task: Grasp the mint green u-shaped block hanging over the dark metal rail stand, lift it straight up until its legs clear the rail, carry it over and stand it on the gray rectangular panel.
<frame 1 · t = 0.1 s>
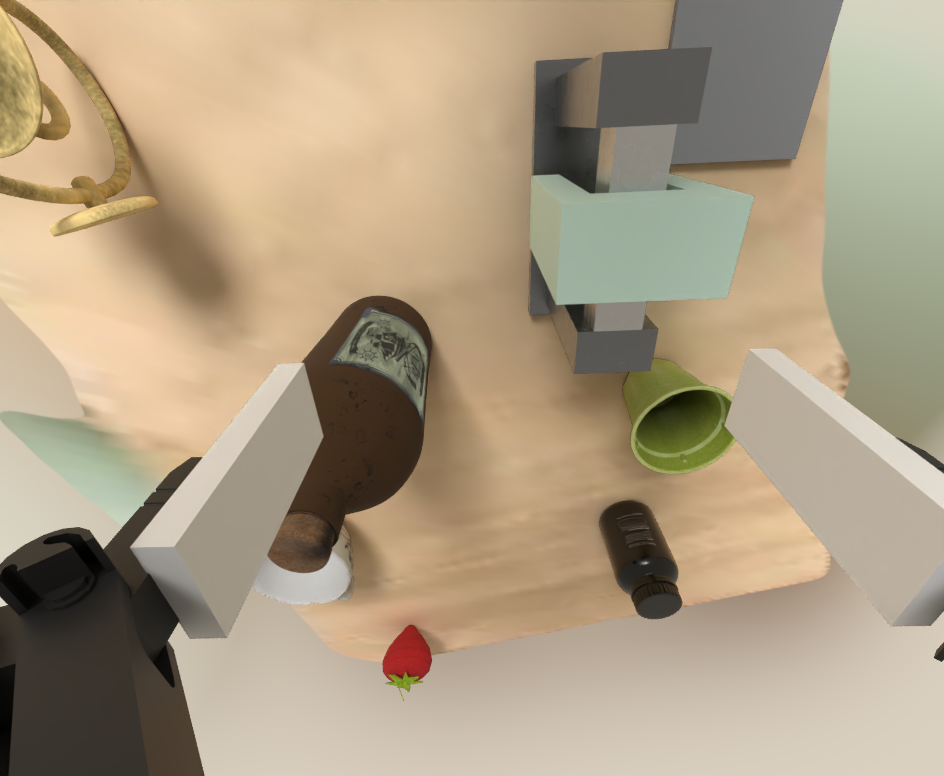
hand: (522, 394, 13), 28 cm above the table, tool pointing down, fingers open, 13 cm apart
strawberry: (411, 624, 69), on the table
wall sconce: (113, 109, 33), on the table
plant pot: (650, 382, 46), on the table
gray rectangular panel: (739, 77, 32), on the table
teacup: (322, 524, 57), on the table
olive oil: (385, 339, 43), on the table
supplement bottle: (624, 516, 56), on the table
rail stand: (579, 201, 37), on the table
mint green u-shaped block: (630, 240, 25), point 14 cm above the table, touching rail stand
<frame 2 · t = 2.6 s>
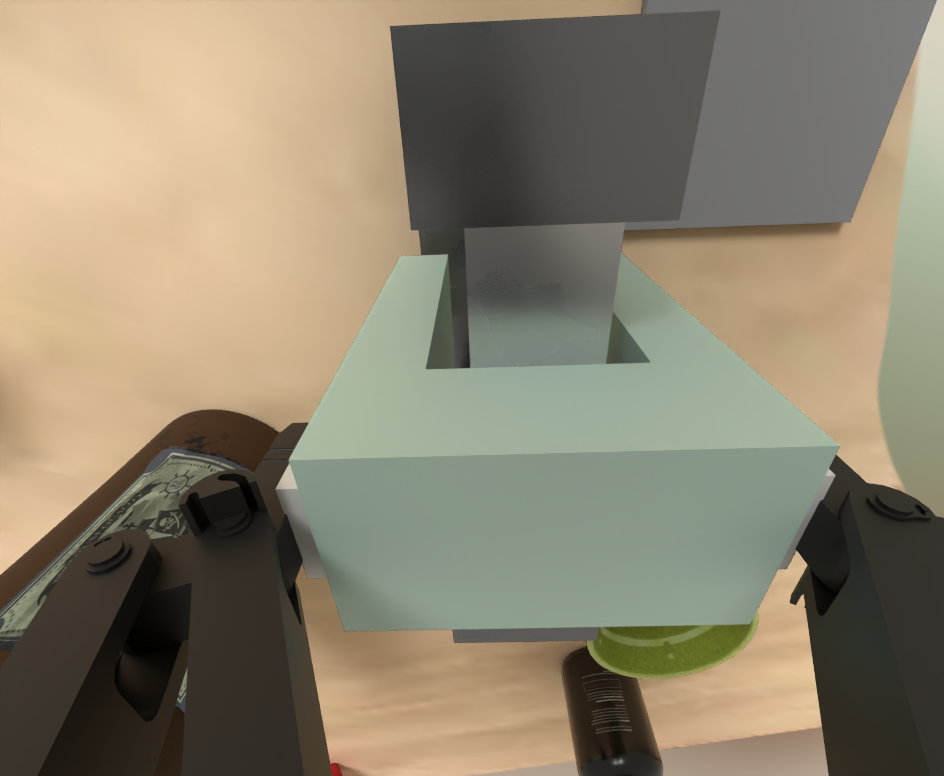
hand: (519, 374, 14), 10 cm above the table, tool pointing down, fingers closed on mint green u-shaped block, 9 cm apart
strawberry: (335, 762, 55), on the table
plant pot: (624, 515, 32), on the table
gray rectangular panel: (761, 88, 19), on the table
olive oil: (237, 463, 30), on the table
supplement bottle: (595, 660, 43), on the table
rail stand: (502, 281, 23), on the table
mint green u-shaped block: (533, 453, 11), point 14 cm above the table, touching gripper, rail stand
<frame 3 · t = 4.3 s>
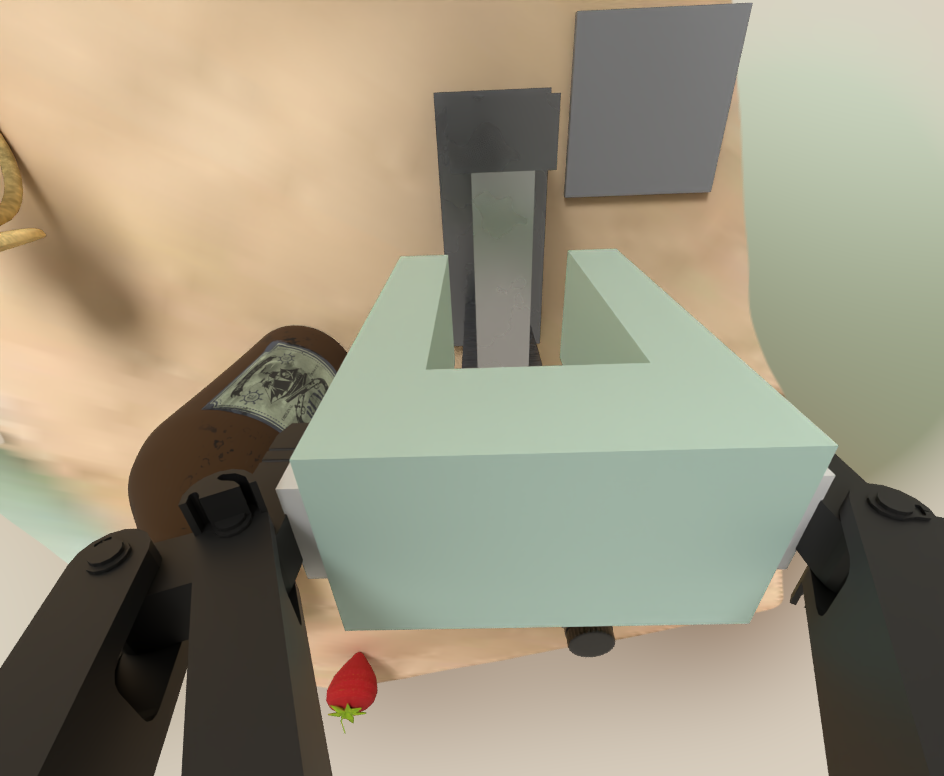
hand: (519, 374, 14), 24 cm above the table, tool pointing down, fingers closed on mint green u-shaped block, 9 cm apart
strawberry: (360, 651, 67), on the table
wall sconce: (4, 137, 32), on the table
gray rectangular panel: (647, 109, 31), on the table
olive oil: (307, 368, 42), on the table
supplement bottle: (568, 546, 55), on the table
rail stand: (493, 232, 35), on the table
mint green u-shaped block: (533, 453, 11), point 28 cm above the table, touching gripper
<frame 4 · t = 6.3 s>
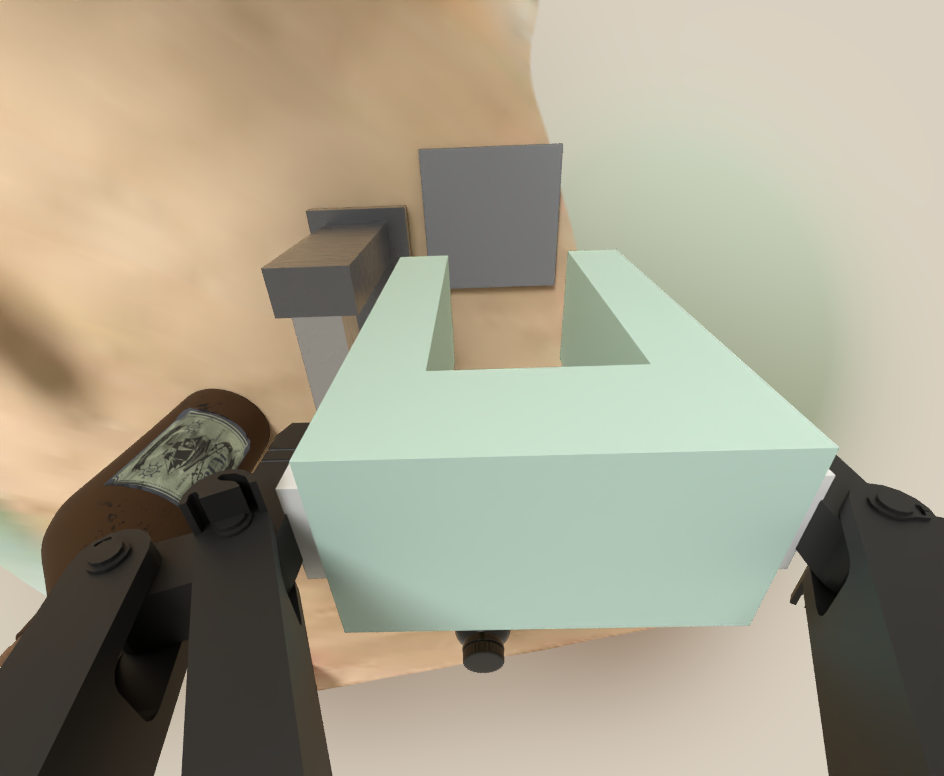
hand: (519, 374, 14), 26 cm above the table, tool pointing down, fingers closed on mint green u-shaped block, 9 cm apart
gray rectangular panel: (491, 221, 37), on the table
olive oil: (228, 423, 48), on the table
supplement bottle: (481, 570, 61), on the table
rail stand: (375, 315, 41), on the table
mint green u-shaped block: (533, 454, 11), point 30 cm above the table, touching gripper
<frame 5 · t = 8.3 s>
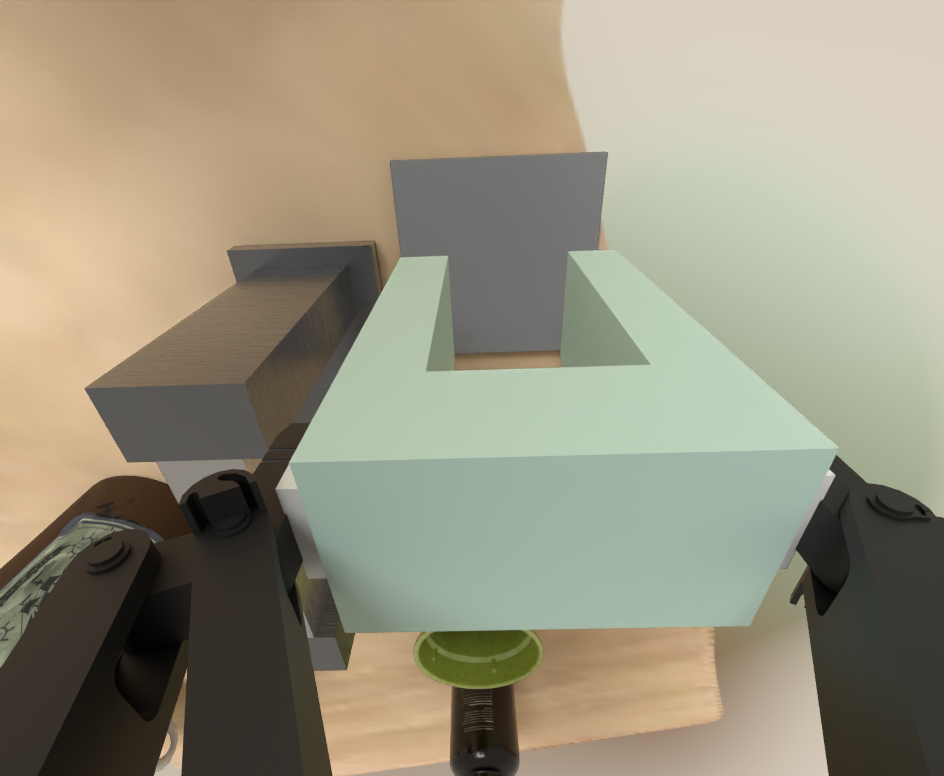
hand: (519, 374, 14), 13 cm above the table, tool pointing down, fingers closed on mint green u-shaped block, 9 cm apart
plant pot: (477, 553, 39), on the table
gray rectangular panel: (498, 262, 26), on the table
teacup: (143, 675, 50), on the table
olive oil: (152, 514, 37), on the table
supplement bottle: (482, 669, 50), on the table
rail stand: (337, 386, 30), on the table
mint green u-shaped block: (533, 455, 11), point 17 cm above the table, touching gripper
when the fingers open (7 cm above the table, at t = 10.0 s): mint green u-shaped block stays where it is, resting on gray rectangular panel.
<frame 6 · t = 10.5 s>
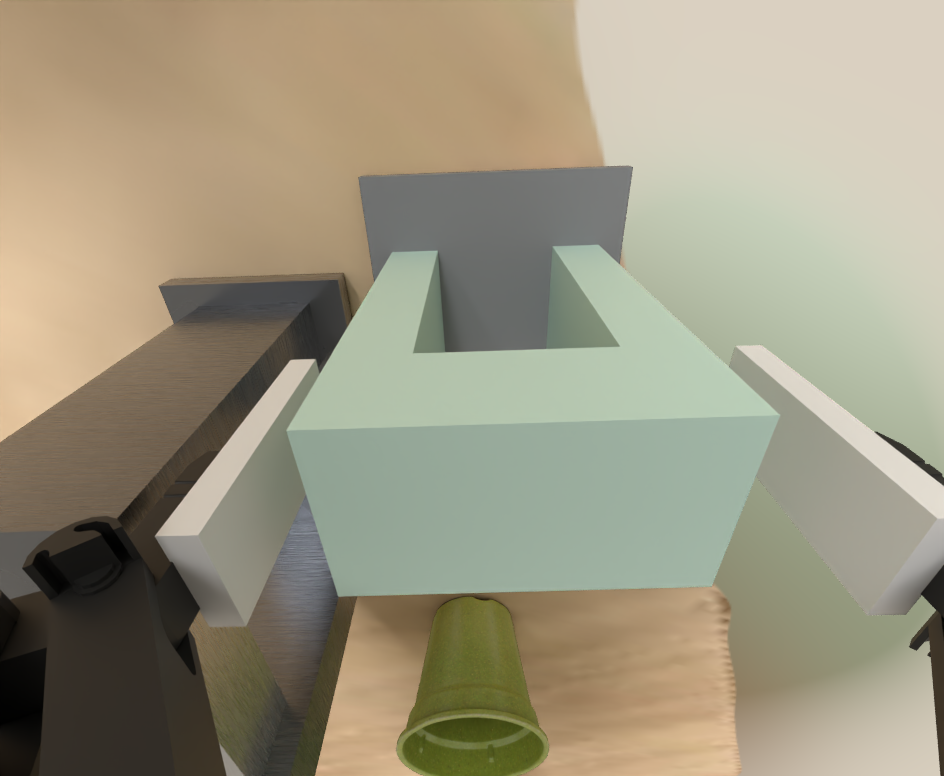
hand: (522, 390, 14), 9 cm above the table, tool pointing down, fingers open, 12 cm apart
plant pot: (471, 615, 35), on the table
gray rectangular panel: (495, 298, 21), on the table
rail stand: (304, 439, 25), on the table
mint green u-shaped block: (514, 433, 12), point 11 cm above the table, touching gray rectangular panel
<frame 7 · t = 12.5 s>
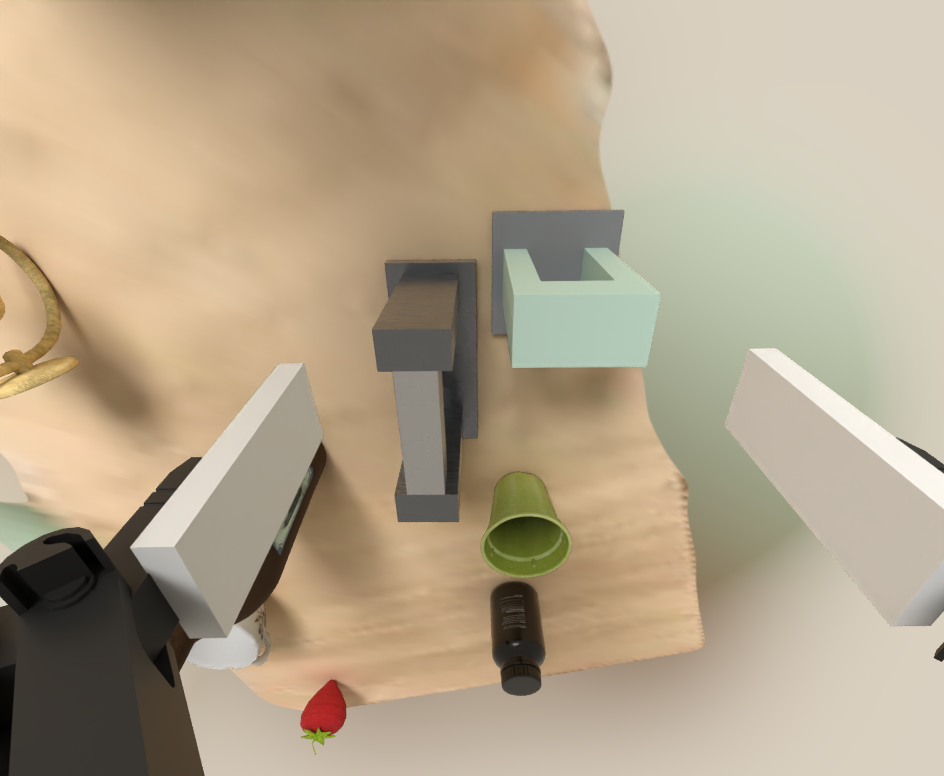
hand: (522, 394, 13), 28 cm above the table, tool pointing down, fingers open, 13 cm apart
strawberry: (333, 679, 75), on the table
wall sconce: (48, 280, 41), on the table
plant pot: (519, 488, 53), on the table
gray rectangular panel: (552, 275, 40), on the table
teacup: (245, 593, 64), on the table
olive oil: (286, 450, 51), on the table
supplement bottle: (513, 594, 63), on the table
rail stand: (436, 355, 44), on the table
mint green u-shaped block: (574, 316, 31), point 11 cm above the table, touching gray rectangular panel
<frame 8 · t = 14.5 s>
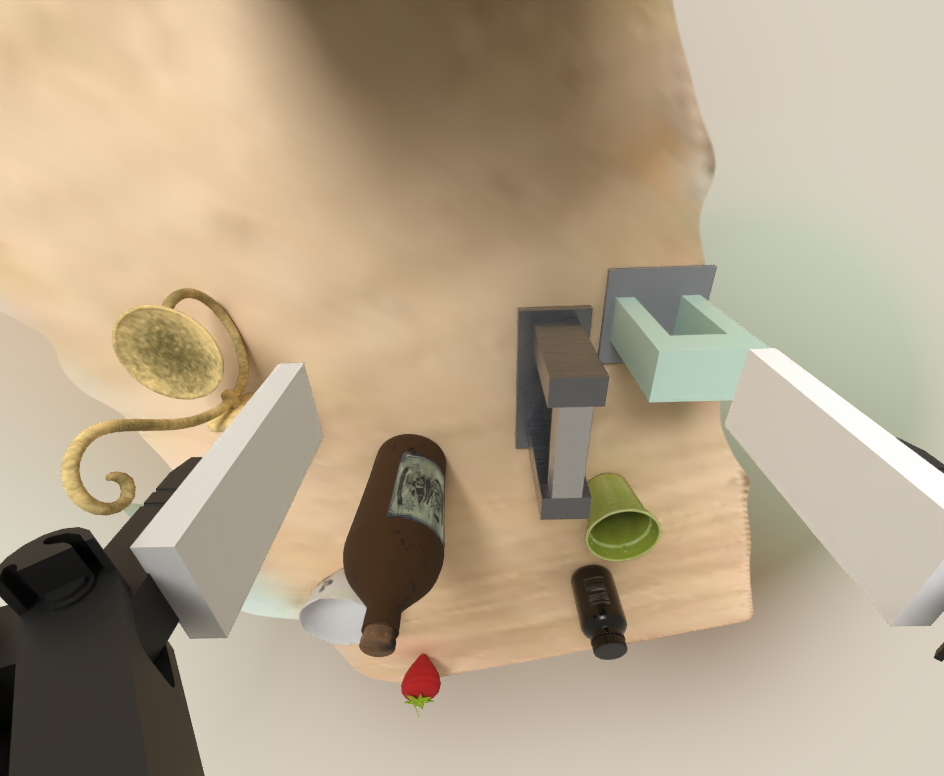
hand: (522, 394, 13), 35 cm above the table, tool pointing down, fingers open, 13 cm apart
strawberry: (423, 653, 86), on the table
wall sconce: (236, 328, 50), on the table
plant pot: (605, 487, 63), on the table
gray rectangular panel: (652, 316, 49), on the table
teacup: (357, 580, 74), on the table
olive oil: (412, 459, 60), on the table
supplement bottle: (590, 575, 73), on the table
rail stand: (549, 380, 53), on the table
mint green u-shaped block: (692, 360, 40), point 11 cm above the table, touching gray rectangular panel
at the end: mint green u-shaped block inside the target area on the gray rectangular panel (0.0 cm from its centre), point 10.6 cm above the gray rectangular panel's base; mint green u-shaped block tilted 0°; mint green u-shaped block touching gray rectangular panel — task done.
